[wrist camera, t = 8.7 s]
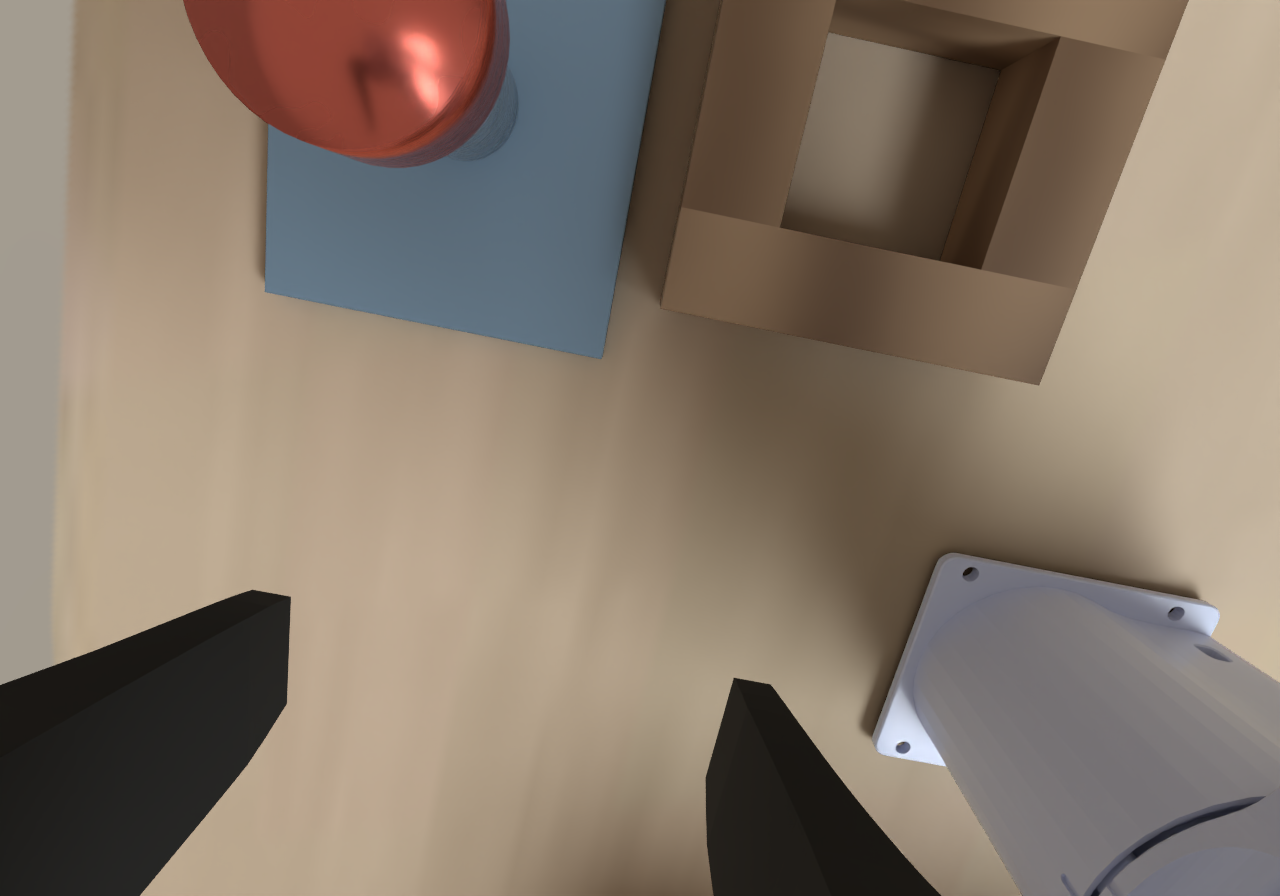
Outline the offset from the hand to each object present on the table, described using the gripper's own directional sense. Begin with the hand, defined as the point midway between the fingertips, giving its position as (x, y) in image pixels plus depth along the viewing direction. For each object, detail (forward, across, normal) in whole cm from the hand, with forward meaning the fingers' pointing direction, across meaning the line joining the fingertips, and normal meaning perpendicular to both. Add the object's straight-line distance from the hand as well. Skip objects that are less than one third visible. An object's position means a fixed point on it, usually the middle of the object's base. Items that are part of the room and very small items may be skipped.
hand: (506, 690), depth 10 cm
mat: (+10, +5, -10) cm, 15 cm away
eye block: (+10, -6, -11) cm, 16 cm away
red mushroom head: (+10, +5, -10) cm, 15 cm away
